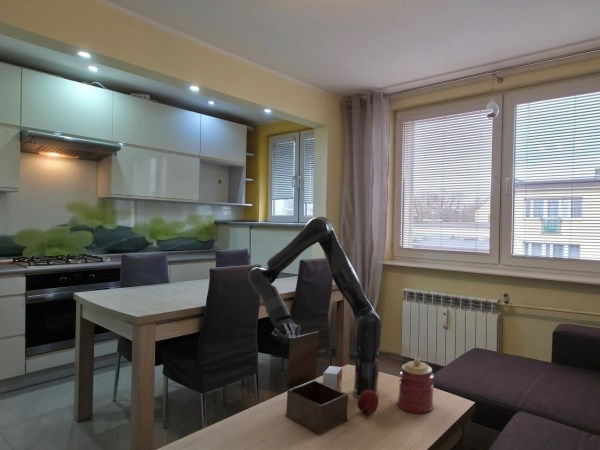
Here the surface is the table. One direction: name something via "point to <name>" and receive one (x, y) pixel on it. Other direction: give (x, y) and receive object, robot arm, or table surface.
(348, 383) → the table surface
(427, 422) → the table surface
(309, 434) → the table surface
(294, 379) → the lid
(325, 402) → the chest
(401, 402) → the kitchen canister
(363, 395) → the apple
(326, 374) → the small box
